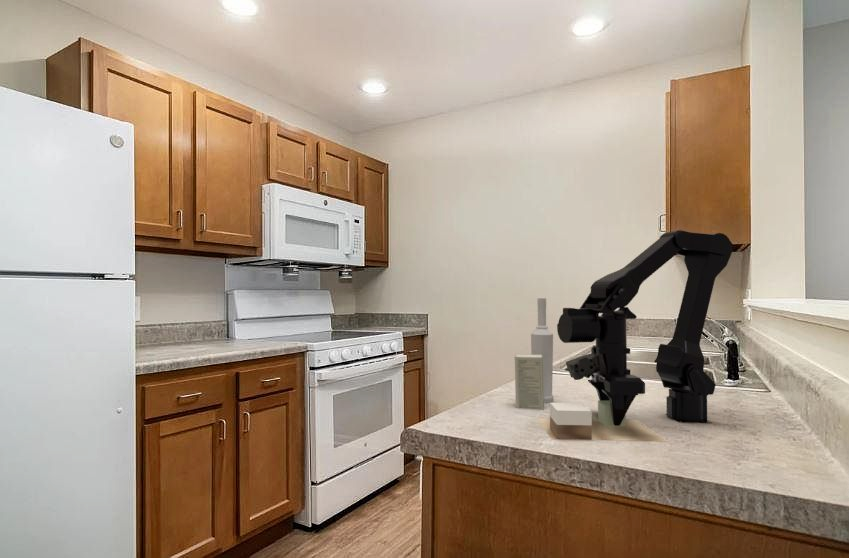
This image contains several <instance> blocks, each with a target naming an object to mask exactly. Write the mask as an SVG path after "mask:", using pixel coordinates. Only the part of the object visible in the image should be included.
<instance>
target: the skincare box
mask: <svg viewBox="0 0 849 558" xmlns="http://www.w3.org/2000/svg"><path fill="white" fill-rule="evenodd" d="M514 377H515V378H514V380H515V383H514V384H515V387H514V388H515V408H516V409H524V410H525V409H529V410H544V408H545V407H544V404H545V403H544V397H543V357H542V355H531V354H519V353H517V354H515V355H514Z"/></svg>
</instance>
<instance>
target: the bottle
mask: <svg viewBox="0 0 849 558" xmlns="http://www.w3.org/2000/svg"><path fill="white" fill-rule="evenodd" d="M536 302H537V305H536V306H537V326H535V327H536V328H535V330H533V331H532V332H531V333H530V349H531V352H530V355H542V357H543V397H544V404H550V403H554V395H553V376H554V375H553V374H554V373H553V367H554V365H553V364H554V363H553V361H554V355H553V354H554V334H553V332H551V331H550V330H549V328H548V326H547V298H546V297H545V298H538V297H537V300H536Z"/></svg>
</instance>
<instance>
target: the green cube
mask: <svg viewBox="0 0 849 558" xmlns="http://www.w3.org/2000/svg"><path fill="white" fill-rule="evenodd" d="M597 414H598V415H597V417H598V418H597V419H598V421H599V422H601V423H602V424H603V425H604V426H615V425H614V424H613V419H612V413H611V406H610V401H600V400H597ZM626 414H627V413H626ZM626 414H625V416H624V418H623V420H622V422H621V424H620V425H619V426H626V420H627V419H626Z"/></svg>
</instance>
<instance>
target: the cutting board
mask: <svg viewBox="0 0 849 558" xmlns="http://www.w3.org/2000/svg"><path fill="white" fill-rule="evenodd" d="M536 419H537V420H538V422H539V424H540V425H541V426H542V428H543V429H544V431H545V432H546V434H547V435H548V437H549V438H550V439H551V440H558V439H557V438H556V437H555V436H554V434H553V433H552V431H551V430H550V417H547V418H546V417H543V418H542V417H537V418H536ZM562 440H564V441H566V440H571V441H575V440H577V439H562ZM577 441H578V440H577ZM591 441H616V442H617V441H619V442H660V443H662V442H664V443H665V442H669V441H668V440H667V439H665V438H664V437H662V436H661V435H660V434H658V433H656V431H654V430H652V429H651V428H649V427H648V426H646V425H645V424H644V423H643V422H641V421H639V420H638V419H626V426H604V425H603V424H602V423H601V422H599V421H598V418H592V440H591Z"/></svg>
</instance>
